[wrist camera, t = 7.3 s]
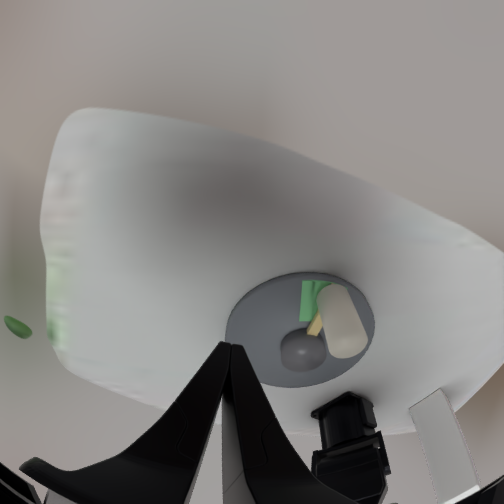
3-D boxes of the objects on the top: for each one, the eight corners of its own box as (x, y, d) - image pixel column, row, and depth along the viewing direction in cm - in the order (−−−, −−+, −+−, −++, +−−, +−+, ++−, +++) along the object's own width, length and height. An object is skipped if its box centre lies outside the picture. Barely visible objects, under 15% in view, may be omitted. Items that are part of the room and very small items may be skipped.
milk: (408, 408, 32) (440, 523, 12) (440, 387, 30) (482, 501, 10) (419, 416, 33) (448, 517, 13) (447, 397, 31) (484, 498, 11)
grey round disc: (297, 394, 29) (298, 402, 28) (197, 339, 25) (195, 347, 24) (395, 325, 24) (399, 332, 23) (302, 239, 20) (304, 245, 19)
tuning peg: (312, 362, 24) (320, 411, 19) (274, 355, 24) (275, 406, 19) (359, 286, 21) (383, 334, 15) (314, 273, 20) (330, 324, 15)
